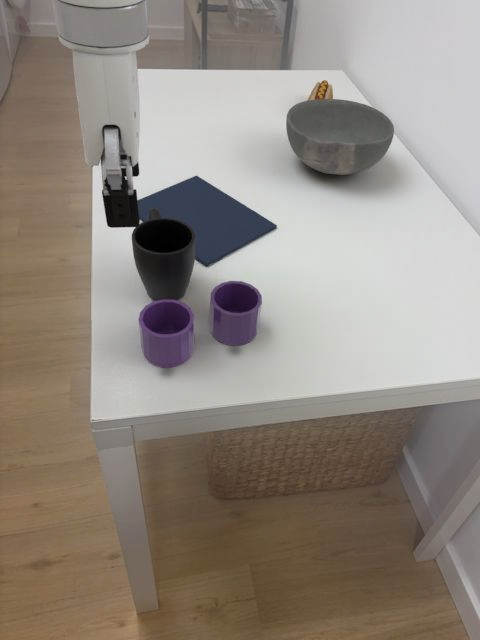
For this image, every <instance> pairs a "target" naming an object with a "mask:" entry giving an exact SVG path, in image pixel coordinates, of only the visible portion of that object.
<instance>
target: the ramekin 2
mask: <svg viewBox="0 0 480 640" xmlns="http://www.w3.org/2000/svg"><path fill="white" fill-rule="evenodd" d="M209 300H210V301H209V302H210V303H209V304H210V305H209V332H210V334H211V335H212V337H213V338H214V339H215V340H216V341H218V342H220V343H222V344H224V345H227V346H233V347H236V346H237V347H239V346H243V345H246V344H248V343H251V342H252V341H253V340H255V338H257V335H258V332H259V328H260V320H261V312H262V305H263V296H262V294H261V292H260V291H259V289H258V288H257V287H255V286H253V284H251V283H248V282H245V281H241V280H229V281H224V282H221V283H219V284H218V285H216V286H214V288H213V289H212V291H211V292H210V299H209Z"/></svg>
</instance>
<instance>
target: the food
mask: <svg viewBox="0 0 480 640" xmlns="http://www.w3.org/2000/svg"><path fill="white" fill-rule="evenodd" d="M316 99H334V91H333V85H332V84H331V83H329V82H328V81H327V80H326V79H324V80H322V81H321V82H320V81H317V82H316V83H315V85H314V87H313V89H312V90H311V92H310V95H309V97H308V99H307V101H308V100H316Z"/></svg>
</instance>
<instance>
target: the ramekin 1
mask: <svg viewBox="0 0 480 640" xmlns="http://www.w3.org/2000/svg"><path fill="white" fill-rule="evenodd" d="M138 315H139V316H138V327H139V336H140V337H139V338H140V346H141V351H142V355H143V357H144V358H145V360H146V361H147V362H148V363H150V364H151V365H154V366H156V367H159V368H166V369H167V368H175V367H179V366H181V365H184V364H185V363H187V362H188V361H189V360H190V359H191V358H192V356H193V354H194V351H195V314H194V312H193V310H192V308H191V307H190V306H189V305H187V304H186V303H185V302H182V301H180V300H171V299H162V300H158V301H155V300H153V301H151V302H149V303H148V304H147V305H145V306H144V307H143V308H142V310H141V311H140V312H139V314H138Z"/></svg>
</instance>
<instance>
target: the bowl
mask: <svg viewBox="0 0 480 640" xmlns="http://www.w3.org/2000/svg"><path fill="white" fill-rule="evenodd" d="M285 122H286V123H285V125H286V126H285V127H286V135H287V136H286V137H287V139H288V143H289V145H290V148H291V149H292V151H293V153H294V154H295V156H296V157H297V159H299V160H300V162H302V163H304V165H306V166H308V167H309V168H311V169H313V170H315V171H317V172H320V173H323V174H327V175H338V176H343V175H344V176H345V175H346V176H347V175H352V174H358V173H361V172H364V171H366V170H368V169H370V168H372V167H375V165H377V164H378V163H379V162H380V161H381V160H382V159H383V158H384V157H385V155H386V154H387V152H388V150H389V149H390V147H391V144H392V142H393V139H394V134H395V127H394V124H393V122H392V120H391V119H390V118H389V117H388V116H387V115H386V114H385V113H383V112H382V111H380V110H378V109H377V108H375V107H373V106H370V105H367V104H364V103H361V102H358V101H353V100H348V99H340V98H339V99H338V98H333V99H316V100H308V99H307V100H304V101H300V102H298V103H295V104H294V105H293V106H291V108H289V109H288V111H287V114H286V121H285Z"/></svg>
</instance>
